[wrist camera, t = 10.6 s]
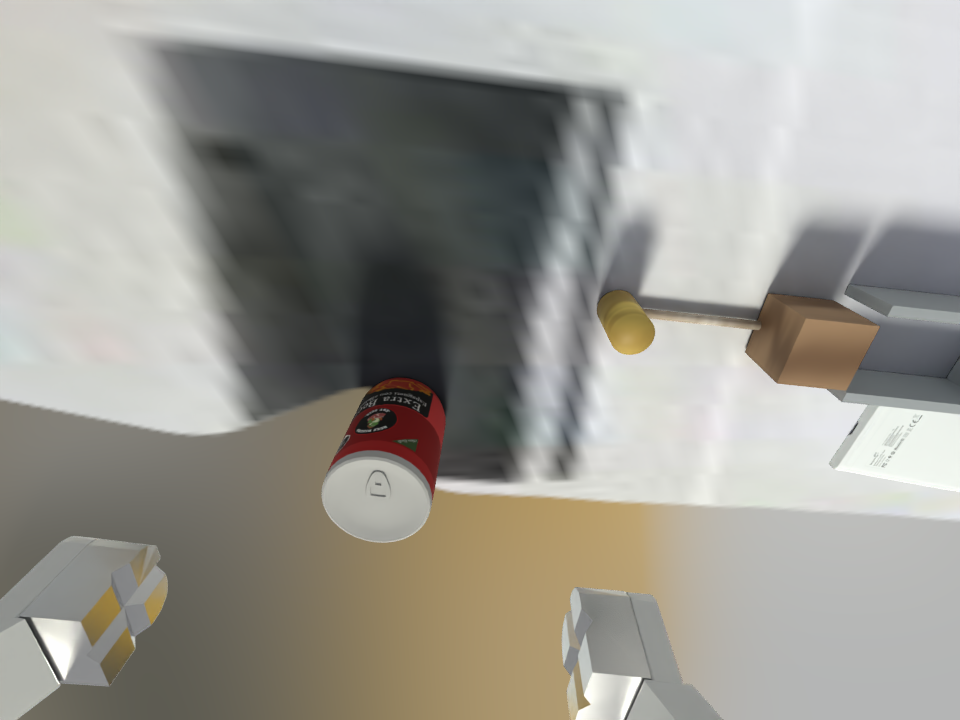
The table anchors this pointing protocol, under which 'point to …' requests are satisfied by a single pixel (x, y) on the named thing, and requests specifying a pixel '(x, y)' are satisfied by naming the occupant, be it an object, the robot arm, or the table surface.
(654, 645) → the robot arm
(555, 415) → the table surface
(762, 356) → the towed block
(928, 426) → the external hard drive
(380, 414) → the canned food
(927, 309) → the lane
